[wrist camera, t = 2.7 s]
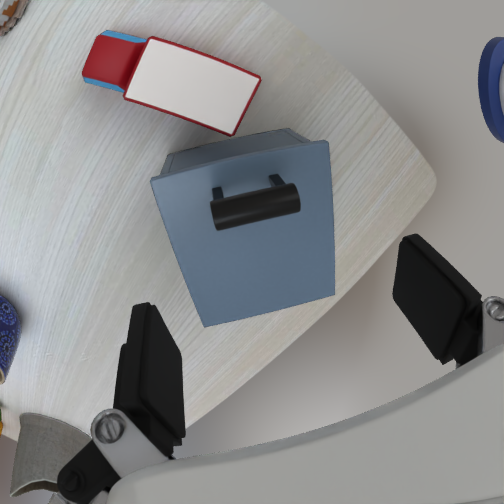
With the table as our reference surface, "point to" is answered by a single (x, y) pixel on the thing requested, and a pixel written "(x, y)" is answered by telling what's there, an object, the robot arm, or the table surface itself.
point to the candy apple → (10, 13)
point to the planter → (8, 336)
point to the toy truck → (172, 79)
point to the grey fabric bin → (43, 452)
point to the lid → (252, 230)
